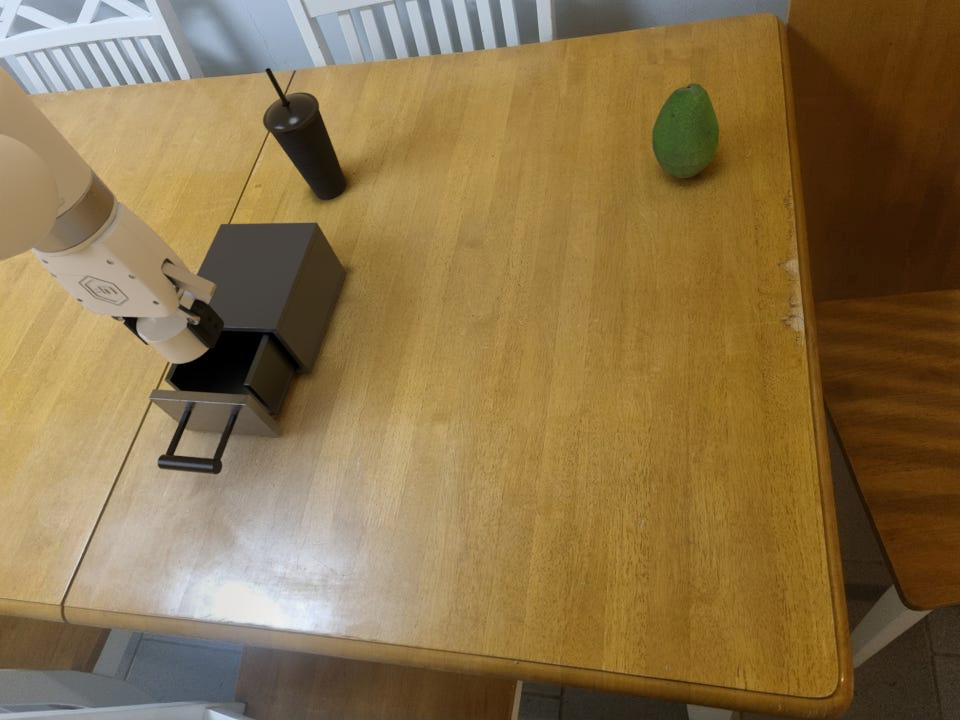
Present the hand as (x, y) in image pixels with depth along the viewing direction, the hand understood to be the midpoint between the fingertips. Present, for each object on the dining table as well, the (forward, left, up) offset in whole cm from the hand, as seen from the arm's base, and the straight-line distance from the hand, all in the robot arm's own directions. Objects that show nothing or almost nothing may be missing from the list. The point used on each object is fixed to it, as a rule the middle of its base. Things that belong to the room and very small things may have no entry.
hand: (185, 333), depth 73 cm
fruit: (+57, -21, -17) cm, 63 cm away
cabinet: (+11, +9, -17) cm, 22 cm away
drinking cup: (+31, +21, -17) cm, 41 cm away
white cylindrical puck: (0, 0, -1) cm, 1 cm away
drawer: (-1, +2, -16) cm, 16 cm away
